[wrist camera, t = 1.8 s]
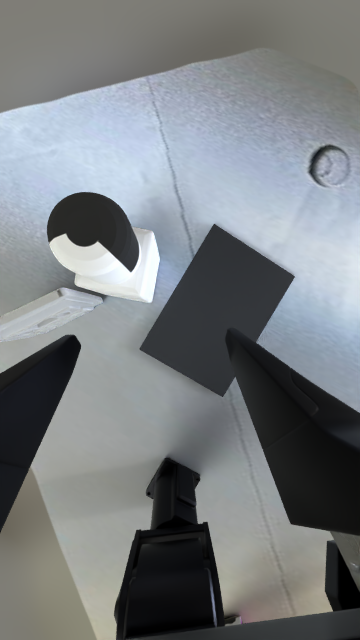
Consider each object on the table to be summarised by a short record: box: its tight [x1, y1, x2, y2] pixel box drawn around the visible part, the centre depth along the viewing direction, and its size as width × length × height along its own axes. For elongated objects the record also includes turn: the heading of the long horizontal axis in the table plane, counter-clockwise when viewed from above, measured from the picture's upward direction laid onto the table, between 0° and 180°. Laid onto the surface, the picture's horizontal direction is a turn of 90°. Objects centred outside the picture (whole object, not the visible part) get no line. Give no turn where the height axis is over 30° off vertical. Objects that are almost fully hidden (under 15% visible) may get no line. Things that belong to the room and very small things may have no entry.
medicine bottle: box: [47, 192, 160, 303], centre depth 16 cm, size 7×7×12 cm
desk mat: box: [140, 224, 295, 397], centre depth 22 cm, size 22×15×1 cm
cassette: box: [0, 288, 103, 342], centre depth 18 cm, size 12×2×8 cm, turn 116°
